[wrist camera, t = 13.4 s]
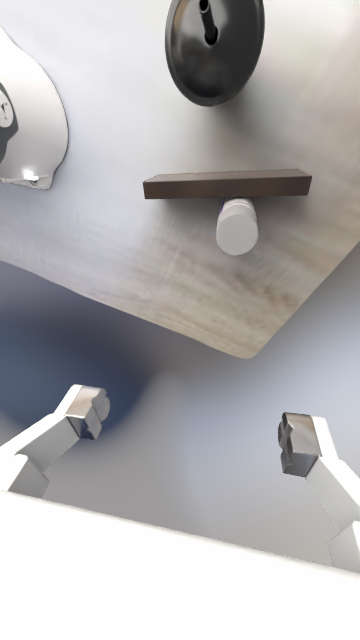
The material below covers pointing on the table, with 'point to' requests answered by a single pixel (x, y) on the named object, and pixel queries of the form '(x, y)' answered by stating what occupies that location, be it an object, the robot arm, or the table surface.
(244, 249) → the container
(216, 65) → the drinking cup
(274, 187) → the bar
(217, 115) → the table surface
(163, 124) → the table surface
